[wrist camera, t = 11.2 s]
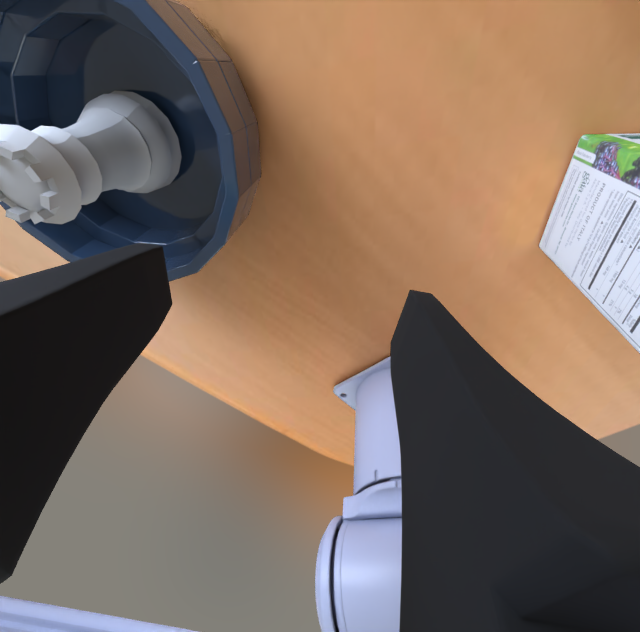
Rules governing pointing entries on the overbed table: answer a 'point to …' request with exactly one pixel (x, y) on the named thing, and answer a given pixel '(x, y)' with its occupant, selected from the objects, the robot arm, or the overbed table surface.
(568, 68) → the overbed table surface
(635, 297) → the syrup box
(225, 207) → the bowl
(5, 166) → the rook chess piece
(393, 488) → the robot arm
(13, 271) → the overbed table surface
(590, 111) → the overbed table surface
